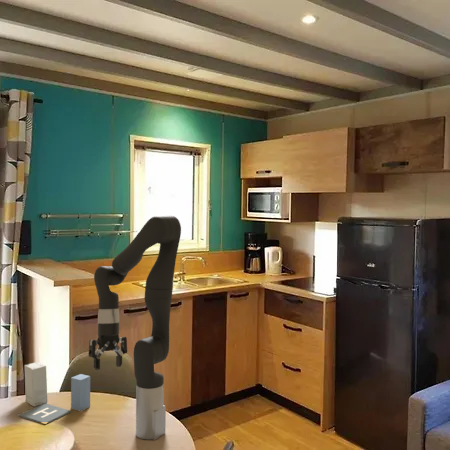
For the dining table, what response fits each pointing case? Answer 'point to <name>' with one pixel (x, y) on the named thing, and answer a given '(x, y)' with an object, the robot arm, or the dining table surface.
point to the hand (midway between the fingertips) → (108, 368)
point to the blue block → (80, 392)
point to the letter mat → (44, 413)
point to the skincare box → (35, 384)
